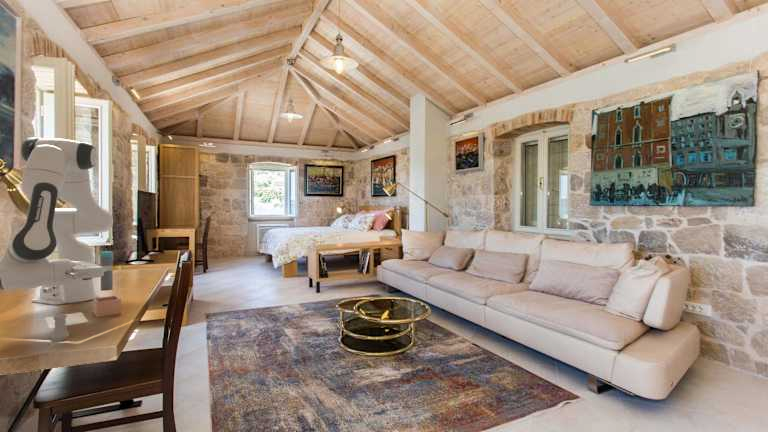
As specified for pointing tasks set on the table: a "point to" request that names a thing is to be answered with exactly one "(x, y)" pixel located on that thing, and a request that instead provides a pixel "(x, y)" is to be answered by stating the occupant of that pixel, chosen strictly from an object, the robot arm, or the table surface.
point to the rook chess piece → (59, 328)
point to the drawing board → (68, 319)
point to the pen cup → (106, 306)
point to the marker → (108, 275)
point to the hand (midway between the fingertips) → (109, 267)
